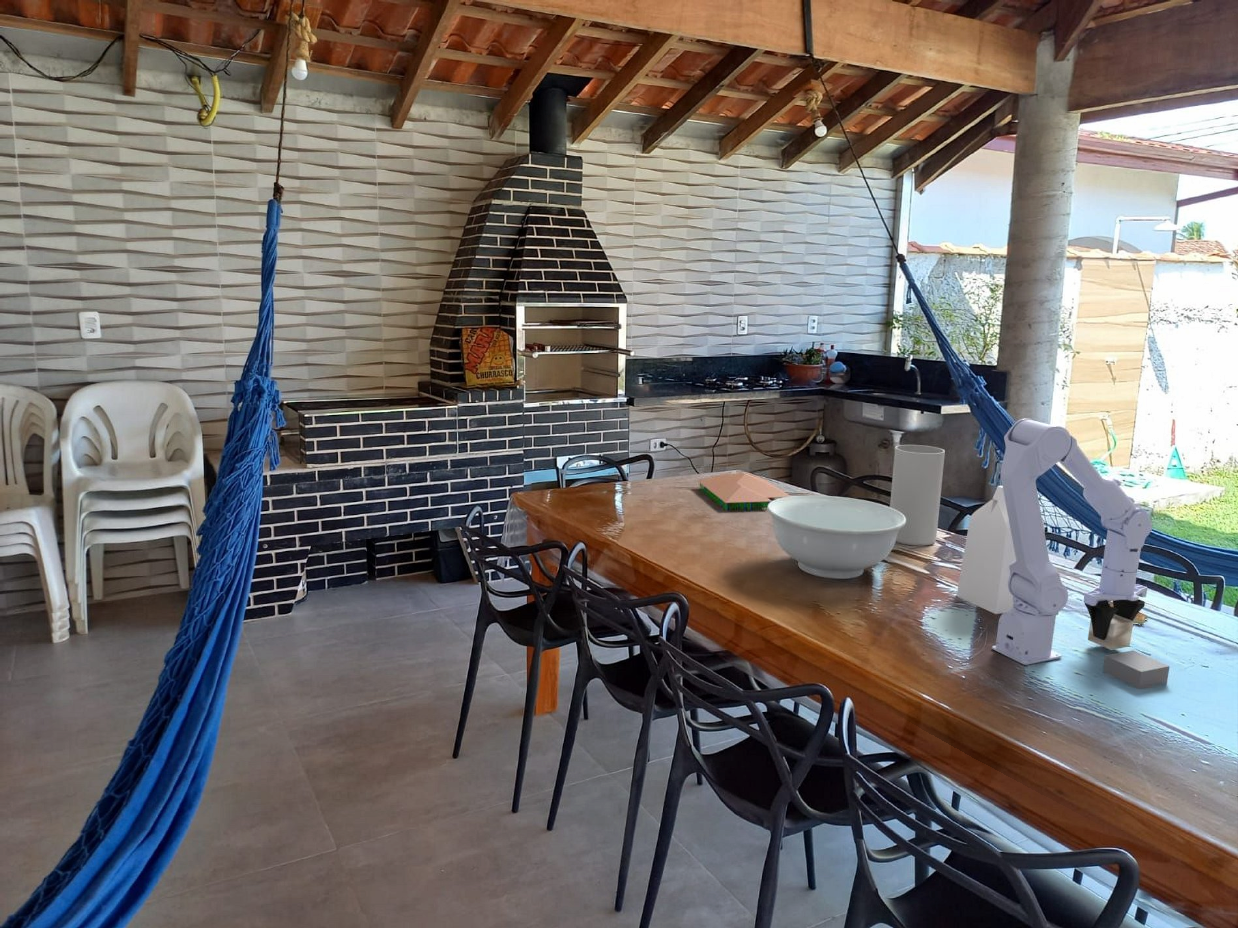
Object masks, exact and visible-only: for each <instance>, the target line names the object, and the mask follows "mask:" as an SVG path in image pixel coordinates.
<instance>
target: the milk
mask: <svg viewBox="0 0 1238 928" xmlns="http://www.w3.org/2000/svg"><path fill="white" fill-rule="evenodd" d="M995 489H996V490H995V491H994V494H993V497H992V499H990V500H989V501H988V502H986V503H985V504H984V505H981V506H980V507H979V508H978V509H976V510H975V511H974V512H973V513H972V514H971V516H970V517H969V518H970V519H969V523H968V527H967V528H968V529H967V532H966V533H967V535H966V538H965V539H966V540H965V543H964V544H965V545H964V550H963V551H964V552H963V557H962V562H961V568H960V574H959V578H958V585H957V591H956V596H957V597H959V598H960V599H963V600H965V601H967V602H969V603H971V604H974V605H975V606H977V607H979V608H982V609H984V610H986V611H988V612H991V613H993V615H994V614H995V615H998V614H1004V613H1005V612H1008V611H1010V610H1011V609H1012V607H1013V605H1014V602H1013V595H1012V594H1011V593H1010V591H1009V589H1008V580H1009V576H1010V569H1009V565H1011V564H1012V563H1013V562H1014V561H1016V556H1015V551H1014V545H1013V540H1012V535H1011V529H1010V524H1009V518H1008V513H1007V508H1006V502H1005V497H1004V491H1003V486H1002V485H998V486H997V487H996V488H995ZM1042 521H1043V519H1042ZM1043 527H1044V532H1045V530H1046V529H1045V528H1046V526H1045V522H1044V521H1043Z"/></svg>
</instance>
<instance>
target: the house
mask: <svg viewBox="0 0 1238 928" xmlns="http://www.w3.org/2000/svg"><path fill="white" fill-rule="evenodd" d="M696 481H697V482H698V483H699V487H700V488H699V490H701V491H702V492H703V493H705V495H707V496H708V497H709V498H711V500H714V502H715V503H717V504H718V505H719V506H720V507H723V509H724V510H725V511H728V508H729V504H730V507H731V509H732V511H733V508H736V507H737V510H736V511H737V512H738V511H739V510H738V508H741V511H746V509H747V511H752V508H753V510H755V509H754V508H755V506H756V503H757V506H758V507H757V511H759V507H760V506H761V507H763V508H762V510H764V508H765V507H768V504H769V503H770V502H772V501H773V499H775V500H776V499H780V498H784V497H792V496H791V495H789V494H788V493H786V492H785V491H784V490H782V489H780V488H778V487H777V486H775V485H774V484H772V483H770V482H769V481H767V480H766V479H765V478H762V477H759V476H756V475H752V474H748V473H745V472H743V471H742V472H736V473H731V472H728V473H722V474H715V475H711V476H710V477H707V478H706V477H705V478H701V479H697V480H696ZM734 504H735V505H734Z"/></svg>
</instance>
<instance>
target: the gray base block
mask: <svg viewBox="0 0 1238 928" xmlns="http://www.w3.org/2000/svg"><path fill="white" fill-rule="evenodd" d="M1104 656H1105V657H1104V663H1103V669H1102V673H1104V674H1106V675H1108V676H1110V677H1112V678H1113V679H1116V680H1118V681H1120V682H1122V683H1124V684H1127V685H1128V686H1131V687H1132V688H1134V689H1137V690H1141V689H1145V688H1150V687H1155V686H1160V685H1166V684H1168V680H1169V671H1170V667H1171V666H1170V665H1167V664H1166V663H1164V662H1161V661H1158V660H1156V659H1154V658H1152V657H1150V656H1147V655H1145V654H1143V653H1141V652H1138V651H1137V650H1133V649H1132V650H1128V651H1123V652H1122V651H1121V652H1117V653H1111V654H1106V655H1104Z"/></svg>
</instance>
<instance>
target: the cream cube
mask: <svg viewBox="0 0 1238 928" xmlns="http://www.w3.org/2000/svg"><path fill="white" fill-rule="evenodd" d="M1133 622H1134V621H1131V620H1129V619H1126V618H1123V617H1121V616H1118V615H1116V614H1114V616H1113V618H1112V620H1111V623H1110V626H1109V630H1108V634H1107V637H1106V639H1105V640H1101V639H1099V638H1096V637H1094V636H1093V629H1092V622H1091V620H1090V622H1089V628H1088V635H1087V640H1088V641H1090V642H1091V643H1094V644H1096V645H1099V646H1101V647H1103V648H1105V649H1107V650H1111V651H1113V650H1118V649H1123V648H1127V647H1128V648H1129V647H1130V646H1131V640H1132V635H1133V626H1134V624H1133Z"/></svg>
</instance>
